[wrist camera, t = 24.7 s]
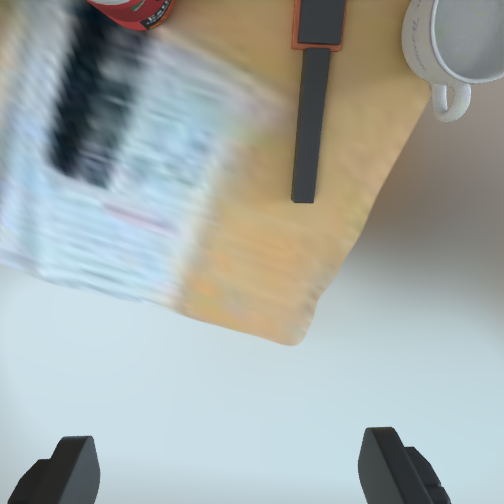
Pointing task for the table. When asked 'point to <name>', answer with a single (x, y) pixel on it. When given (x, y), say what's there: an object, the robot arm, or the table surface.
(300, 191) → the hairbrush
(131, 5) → the canned food
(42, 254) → the table surface
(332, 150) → the table surface
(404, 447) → the robot arm
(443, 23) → the teacup
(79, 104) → the table surface
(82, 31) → the table surface
